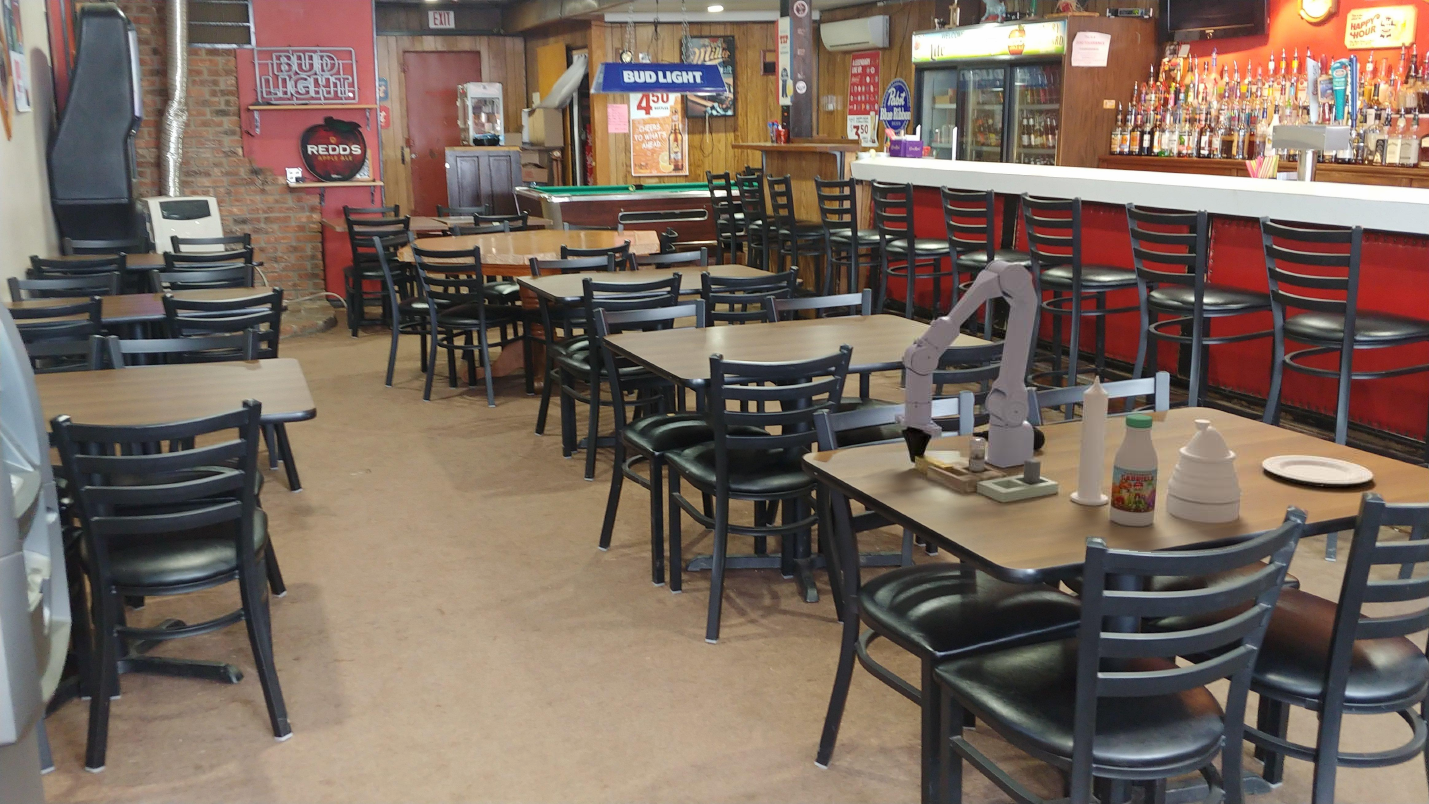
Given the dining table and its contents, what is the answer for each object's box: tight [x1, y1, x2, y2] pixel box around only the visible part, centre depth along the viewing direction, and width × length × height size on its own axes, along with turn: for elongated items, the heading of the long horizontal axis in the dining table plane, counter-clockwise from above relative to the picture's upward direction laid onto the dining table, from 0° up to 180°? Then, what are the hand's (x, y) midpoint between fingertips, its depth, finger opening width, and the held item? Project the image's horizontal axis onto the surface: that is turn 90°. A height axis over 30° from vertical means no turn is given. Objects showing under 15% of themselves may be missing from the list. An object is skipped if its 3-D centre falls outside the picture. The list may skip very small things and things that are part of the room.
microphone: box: [972, 426, 1046, 451], centre depth 266 cm, size 6×6×20 cm
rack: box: [976, 458, 1060, 503], centre depth 230 cm, size 14×8×6 cm, turn 116°
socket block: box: [927, 459, 1008, 494], centre depth 237 cm, size 11×12×2 cm
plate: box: [1261, 454, 1374, 487], centre depth 240 cm, size 21×21×2 cm
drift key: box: [914, 454, 953, 476], centre depth 242 cm, size 2×10×3 cm, turn 26°
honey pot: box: [1165, 419, 1242, 524], centre depth 216 cm, size 13×13×18 cm
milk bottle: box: [1109, 413, 1159, 528], centre depth 210 cm, size 8×8×20 cm
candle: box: [1069, 375, 1110, 506], centre depth 222 cm, size 7×7×25 cm
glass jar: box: [968, 436, 987, 474], centre depth 237 cm, size 3×3×9 cm
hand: (916, 461), depth 248 cm, fingers closed
